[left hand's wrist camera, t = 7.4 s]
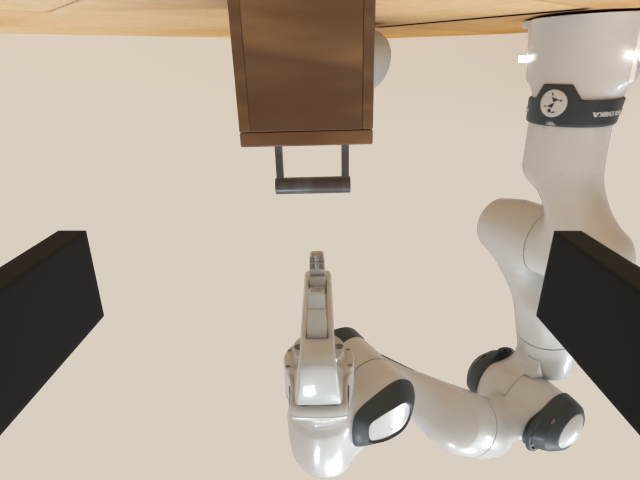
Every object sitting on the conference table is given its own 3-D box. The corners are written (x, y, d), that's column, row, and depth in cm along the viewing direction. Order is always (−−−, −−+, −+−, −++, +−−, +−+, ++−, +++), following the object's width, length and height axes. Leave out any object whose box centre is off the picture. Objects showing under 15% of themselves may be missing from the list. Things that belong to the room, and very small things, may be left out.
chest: (354, 2, 41) (354, 105, 45) (260, 5, 41) (267, 107, 45) (376, -33, 26) (372, 129, 29) (224, -29, 26) (239, 132, 29)
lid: (353, 105, 45) (353, 185, 49) (268, 107, 45) (273, 187, 49) (372, 130, 29) (370, 248, 32) (239, 133, 29) (250, 251, 32)
